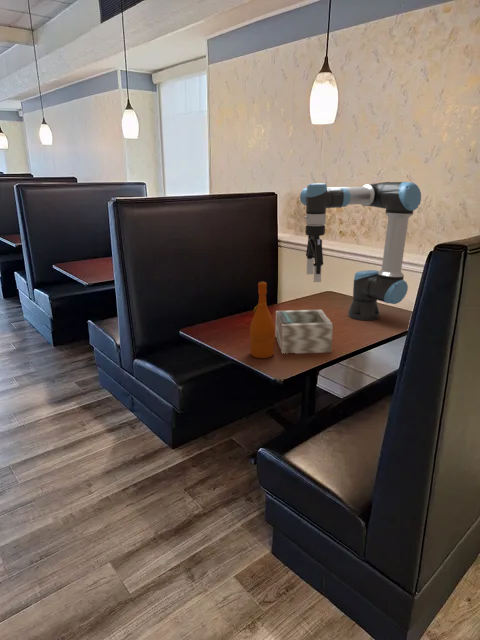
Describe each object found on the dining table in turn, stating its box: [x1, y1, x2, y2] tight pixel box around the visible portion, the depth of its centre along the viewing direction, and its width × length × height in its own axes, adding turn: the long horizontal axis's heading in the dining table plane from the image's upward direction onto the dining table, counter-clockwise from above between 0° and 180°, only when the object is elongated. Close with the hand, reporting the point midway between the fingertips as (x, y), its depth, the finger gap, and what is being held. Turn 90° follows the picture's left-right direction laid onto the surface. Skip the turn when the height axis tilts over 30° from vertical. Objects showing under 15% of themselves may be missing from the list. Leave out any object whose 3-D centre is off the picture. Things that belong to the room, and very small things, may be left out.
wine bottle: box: [249, 281, 276, 359], centre depth 169 cm, size 10×10×30 cm
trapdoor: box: [283, 310, 293, 324], centre depth 182 cm, size 14×14×1 cm
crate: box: [275, 308, 333, 355], centre depth 182 cm, size 20×20×12 cm
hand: (313, 277), depth 176 cm, fingers open, 13 cm apart
